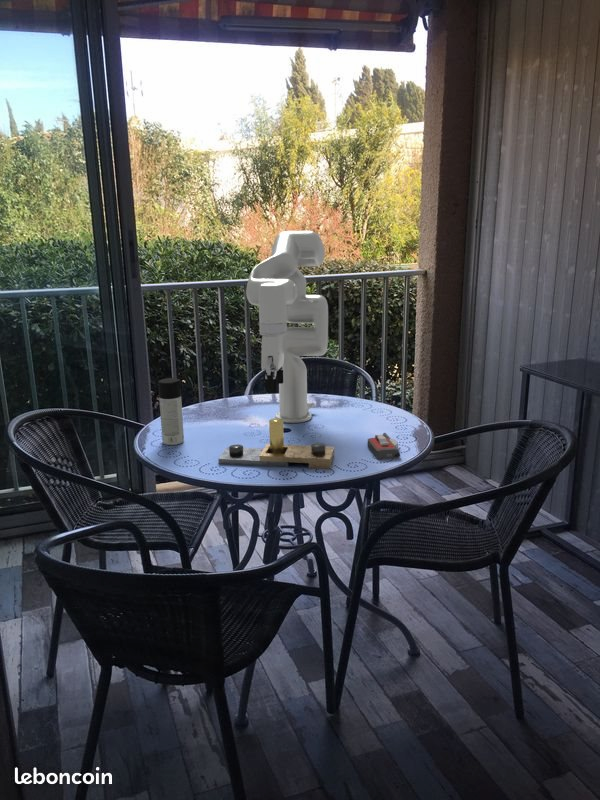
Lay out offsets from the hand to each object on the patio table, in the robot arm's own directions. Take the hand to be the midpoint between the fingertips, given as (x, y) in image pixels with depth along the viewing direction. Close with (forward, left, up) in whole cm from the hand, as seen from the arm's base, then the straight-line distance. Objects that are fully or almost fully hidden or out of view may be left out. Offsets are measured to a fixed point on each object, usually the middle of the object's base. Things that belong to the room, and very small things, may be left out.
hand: (274, 387), depth 189 cm
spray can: (+10, -34, -21) cm, 41 cm away
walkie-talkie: (-25, +21, -22) cm, 39 cm away
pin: (+2, +2, -21) cm, 21 cm away
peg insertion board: (+2, +2, -21) cm, 21 cm away
